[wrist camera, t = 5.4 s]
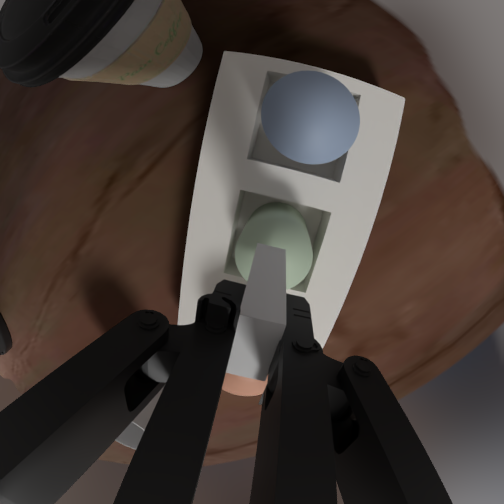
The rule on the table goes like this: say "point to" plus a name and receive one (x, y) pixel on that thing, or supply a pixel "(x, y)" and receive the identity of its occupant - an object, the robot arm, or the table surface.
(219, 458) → the table surface
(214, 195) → the button board
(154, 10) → the coffee cup
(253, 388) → the terracotta cap
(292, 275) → the sage cap
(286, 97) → the slate cap
